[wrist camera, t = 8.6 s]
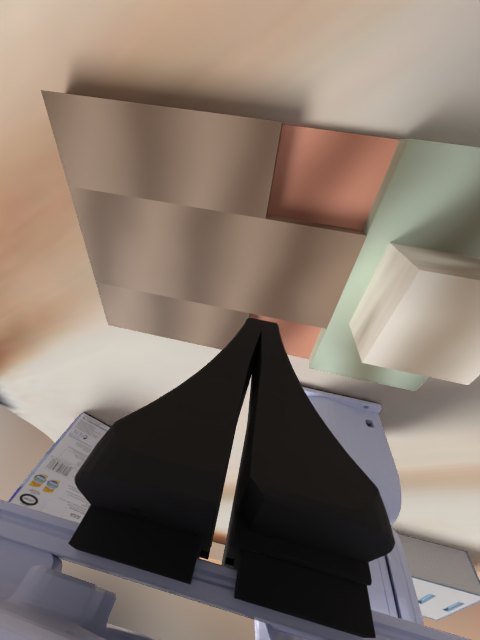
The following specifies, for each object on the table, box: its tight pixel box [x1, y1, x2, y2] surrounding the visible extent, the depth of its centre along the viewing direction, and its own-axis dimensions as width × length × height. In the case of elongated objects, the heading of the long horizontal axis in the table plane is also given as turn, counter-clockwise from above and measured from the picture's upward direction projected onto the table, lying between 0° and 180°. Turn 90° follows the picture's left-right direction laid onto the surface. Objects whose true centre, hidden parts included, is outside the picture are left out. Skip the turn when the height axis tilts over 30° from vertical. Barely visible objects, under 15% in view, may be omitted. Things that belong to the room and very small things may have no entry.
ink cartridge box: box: [8, 413, 110, 523], centre depth 33 cm, size 10×6×14 cm, turn 49°
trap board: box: [41, 90, 480, 392], centre depth 17 cm, size 28×16×2 cm, turn 84°
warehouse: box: [398, 534, 480, 620], centre depth 43 cm, size 30×14×8 cm, turn 84°
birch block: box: [349, 243, 480, 385], centre depth 13 cm, size 6×6×4 cm
